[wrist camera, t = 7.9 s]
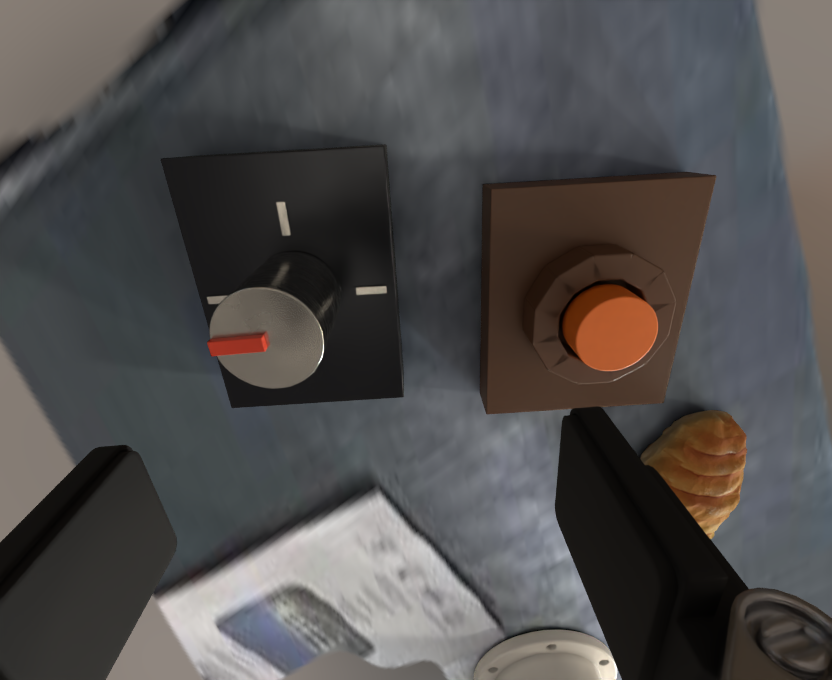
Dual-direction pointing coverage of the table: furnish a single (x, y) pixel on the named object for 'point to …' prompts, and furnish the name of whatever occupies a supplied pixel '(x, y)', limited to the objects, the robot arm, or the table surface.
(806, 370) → the table surface
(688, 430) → the pastry
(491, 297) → the block
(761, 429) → the table surface
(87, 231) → the table surface
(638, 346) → the button
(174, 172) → the dial panel
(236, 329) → the dial
